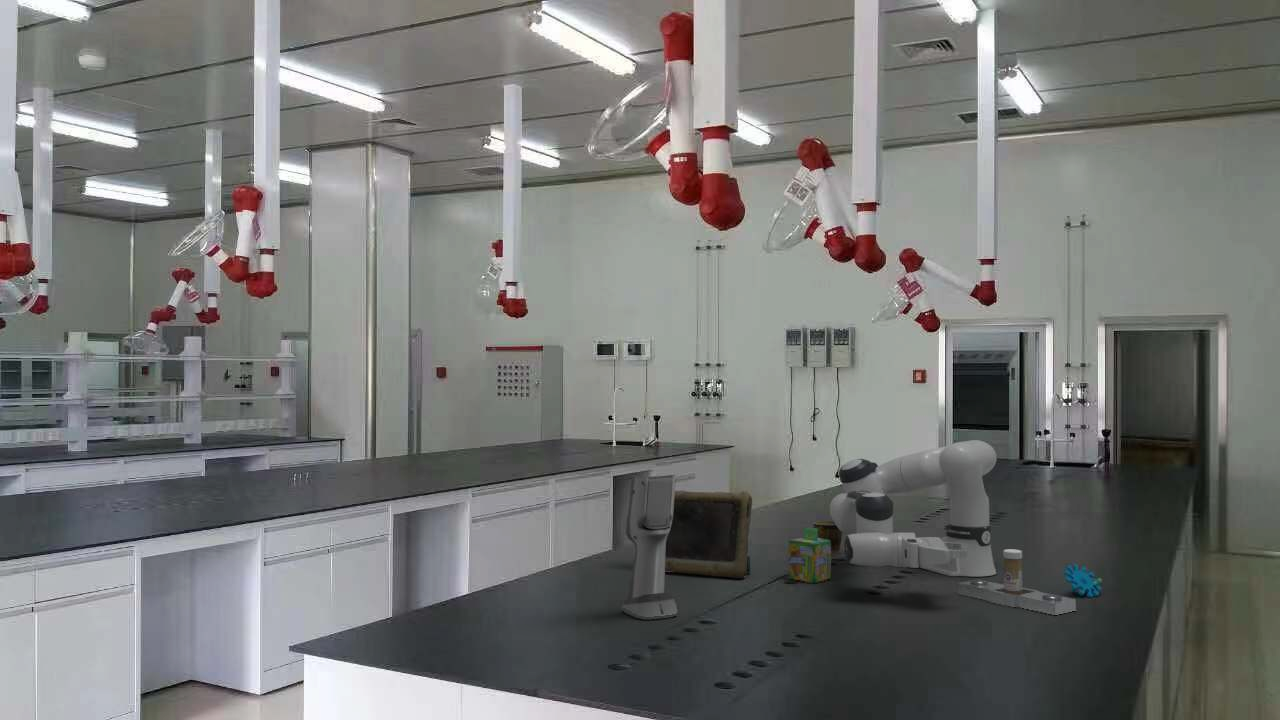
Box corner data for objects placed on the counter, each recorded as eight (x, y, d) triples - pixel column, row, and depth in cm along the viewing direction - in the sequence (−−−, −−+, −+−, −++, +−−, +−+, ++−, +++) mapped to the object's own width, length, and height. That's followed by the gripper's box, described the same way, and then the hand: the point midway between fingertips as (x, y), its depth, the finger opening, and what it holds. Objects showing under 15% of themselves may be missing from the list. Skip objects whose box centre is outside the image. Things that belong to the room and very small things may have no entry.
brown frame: (639, 574, 295) (638, 491, 295) (656, 566, 308) (654, 486, 308) (744, 581, 283) (743, 494, 283) (757, 572, 296) (755, 489, 296)
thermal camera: (641, 622, 236) (639, 477, 237) (619, 611, 248) (617, 473, 248) (683, 616, 241) (681, 474, 242) (660, 606, 253) (658, 470, 253)
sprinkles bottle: (1001, 603, 251) (1000, 550, 251) (1008, 599, 254) (1007, 548, 254) (1019, 605, 248) (1018, 552, 248) (1026, 602, 251) (1024, 549, 251)
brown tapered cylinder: (821, 548, 333) (821, 519, 334) (848, 551, 328) (848, 521, 328) (804, 554, 323) (803, 524, 323) (832, 557, 317) (831, 526, 317)
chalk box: (788, 580, 283) (787, 528, 283) (805, 575, 290) (804, 525, 290) (815, 584, 277) (814, 531, 277) (832, 579, 283) (831, 528, 284)
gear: (1076, 593, 253) (1060, 561, 261) (1063, 605, 257) (1049, 573, 265) (1112, 596, 256) (1095, 564, 263) (1099, 608, 260) (1083, 577, 267)
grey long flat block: (955, 594, 261) (955, 581, 261) (980, 590, 266) (979, 576, 266) (1053, 616, 236) (1052, 601, 236) (1078, 611, 241) (1077, 596, 241)
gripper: (905, 554, 265) (958, 555, 263) (912, 569, 245) (969, 570, 243) (904, 531, 265) (957, 531, 263) (911, 544, 245) (969, 544, 243)
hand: (963, 550), depth 253 cm, fingers open, 8 cm apart
